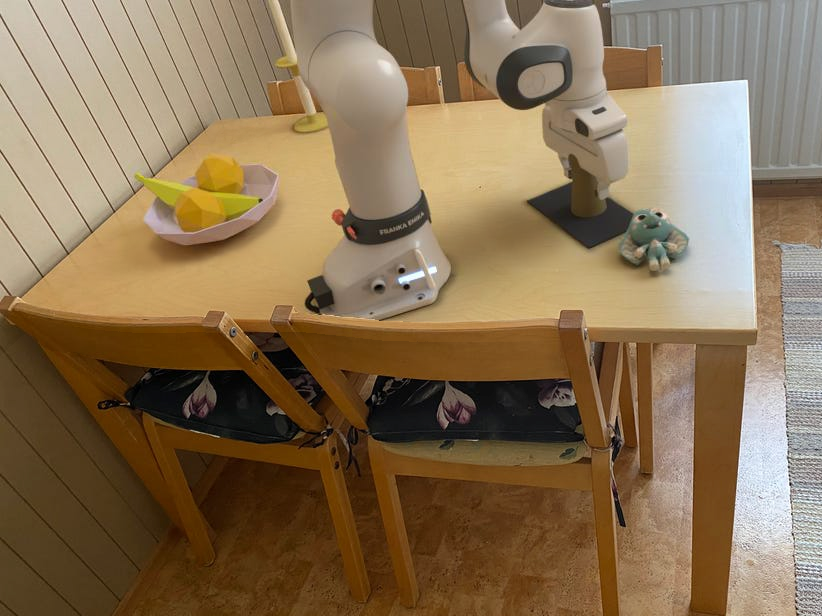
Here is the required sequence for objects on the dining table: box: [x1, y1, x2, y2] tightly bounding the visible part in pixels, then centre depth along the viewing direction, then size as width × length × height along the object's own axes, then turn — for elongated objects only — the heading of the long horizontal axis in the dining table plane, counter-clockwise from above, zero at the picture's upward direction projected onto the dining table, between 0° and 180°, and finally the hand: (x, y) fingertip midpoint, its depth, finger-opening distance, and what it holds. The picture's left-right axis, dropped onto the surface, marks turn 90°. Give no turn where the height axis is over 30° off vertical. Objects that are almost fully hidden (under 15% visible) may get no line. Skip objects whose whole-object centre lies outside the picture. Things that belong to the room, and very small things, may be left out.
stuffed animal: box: [617, 206, 690, 272], centre depth 113 cm, size 11×7×12 cm
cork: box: [568, 154, 607, 218], centre depth 124 cm, size 6×6×11 cm
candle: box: [267, 0, 329, 134], centre depth 169 cm, size 10×10×32 cm
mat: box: [527, 181, 634, 250], centre depth 128 cm, size 11×20×1 cm, turn 27°
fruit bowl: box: [133, 153, 280, 246], centre depth 146 cm, size 28×27×11 cm
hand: (586, 186), depth 125 cm, fingers open, 8 cm apart
